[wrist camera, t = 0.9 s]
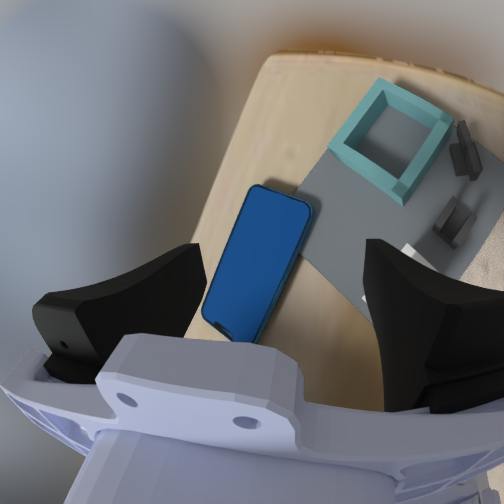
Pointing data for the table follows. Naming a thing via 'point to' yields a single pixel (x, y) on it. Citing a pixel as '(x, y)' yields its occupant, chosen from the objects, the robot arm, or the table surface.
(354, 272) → the board
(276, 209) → the smartphone
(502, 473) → the table surface
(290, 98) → the table surface
